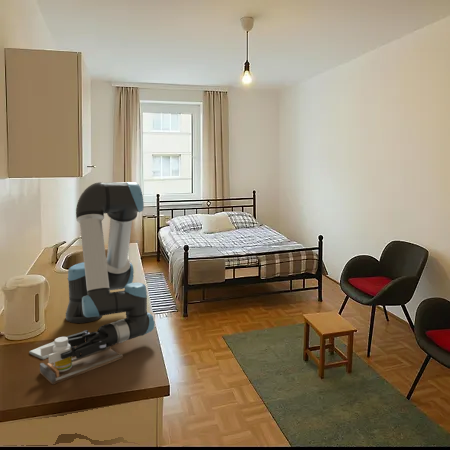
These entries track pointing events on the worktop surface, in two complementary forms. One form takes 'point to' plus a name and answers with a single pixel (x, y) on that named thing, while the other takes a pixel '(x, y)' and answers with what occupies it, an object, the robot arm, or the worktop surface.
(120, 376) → the worktop surface
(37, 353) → the external hard drive
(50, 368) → the latch plate
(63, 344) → the supplement bottle
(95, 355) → the rail board
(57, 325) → the worktop surface
